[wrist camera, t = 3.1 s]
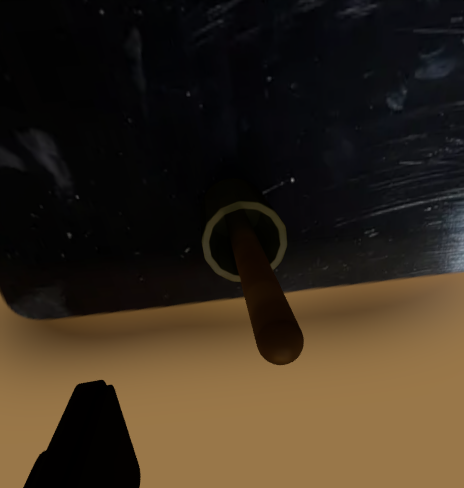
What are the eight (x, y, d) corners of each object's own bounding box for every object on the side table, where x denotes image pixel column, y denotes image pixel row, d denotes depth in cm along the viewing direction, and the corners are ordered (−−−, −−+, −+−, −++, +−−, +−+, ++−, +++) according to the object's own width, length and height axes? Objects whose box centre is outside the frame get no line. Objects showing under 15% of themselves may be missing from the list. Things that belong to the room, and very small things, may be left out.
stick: (225, 223, 26) (263, 378, 11) (221, 203, 25) (257, 338, 10) (245, 219, 26) (311, 370, 11) (242, 199, 26) (307, 329, 10)
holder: (207, 245, 27) (210, 289, 20) (195, 183, 25) (194, 208, 19) (268, 234, 27) (290, 275, 20) (260, 172, 25) (282, 193, 19)
